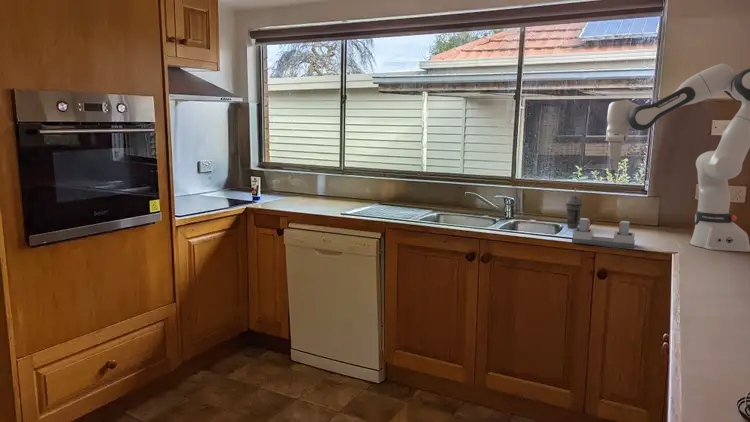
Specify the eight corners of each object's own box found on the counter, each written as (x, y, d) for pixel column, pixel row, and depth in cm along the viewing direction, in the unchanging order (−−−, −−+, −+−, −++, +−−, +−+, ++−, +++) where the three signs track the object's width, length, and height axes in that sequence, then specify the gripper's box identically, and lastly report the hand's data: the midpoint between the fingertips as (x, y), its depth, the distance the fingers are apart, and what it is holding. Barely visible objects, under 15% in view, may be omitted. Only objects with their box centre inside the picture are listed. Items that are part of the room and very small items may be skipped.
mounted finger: (628, 240, 224) (629, 221, 223) (627, 242, 221) (629, 223, 219) (618, 239, 226) (619, 220, 225) (618, 241, 222) (619, 222, 221)
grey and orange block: (579, 236, 233) (580, 217, 231) (588, 236, 231) (589, 218, 230) (578, 237, 229) (579, 219, 228) (587, 238, 228) (588, 220, 226)
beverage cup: (578, 226, 266) (580, 186, 262) (582, 229, 258) (584, 187, 255) (563, 225, 266) (565, 185, 263) (566, 228, 259) (569, 187, 256)
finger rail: (634, 244, 225) (635, 232, 224) (633, 248, 218) (634, 236, 217) (574, 239, 236) (574, 227, 235) (571, 242, 229) (572, 231, 228)
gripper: (610, 136, 245) (608, 166, 247) (607, 137, 227) (605, 170, 229) (625, 136, 242) (623, 166, 245) (624, 137, 224) (622, 170, 226)
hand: (615, 168), depth 237 cm, fingers open, 8 cm apart
